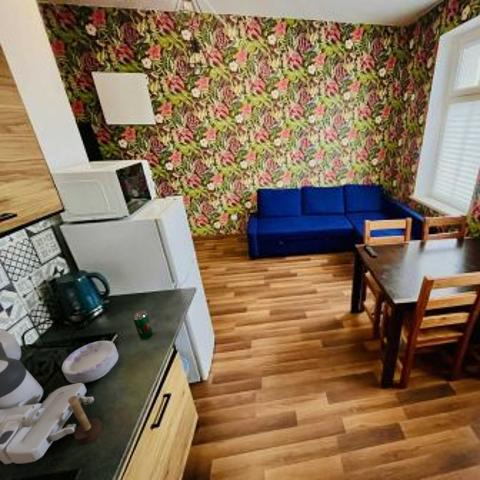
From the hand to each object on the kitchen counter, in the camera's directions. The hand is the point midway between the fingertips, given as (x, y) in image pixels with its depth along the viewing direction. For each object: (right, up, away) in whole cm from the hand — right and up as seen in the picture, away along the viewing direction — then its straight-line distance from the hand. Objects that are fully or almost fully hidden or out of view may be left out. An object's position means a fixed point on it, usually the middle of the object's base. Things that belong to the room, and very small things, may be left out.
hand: (83, 413), depth 76 cm
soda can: (-8, +7, +40) cm, 42 cm away
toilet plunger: (-1, -8, +3) cm, 9 cm away
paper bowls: (-16, 0, +23) cm, 28 cm away
